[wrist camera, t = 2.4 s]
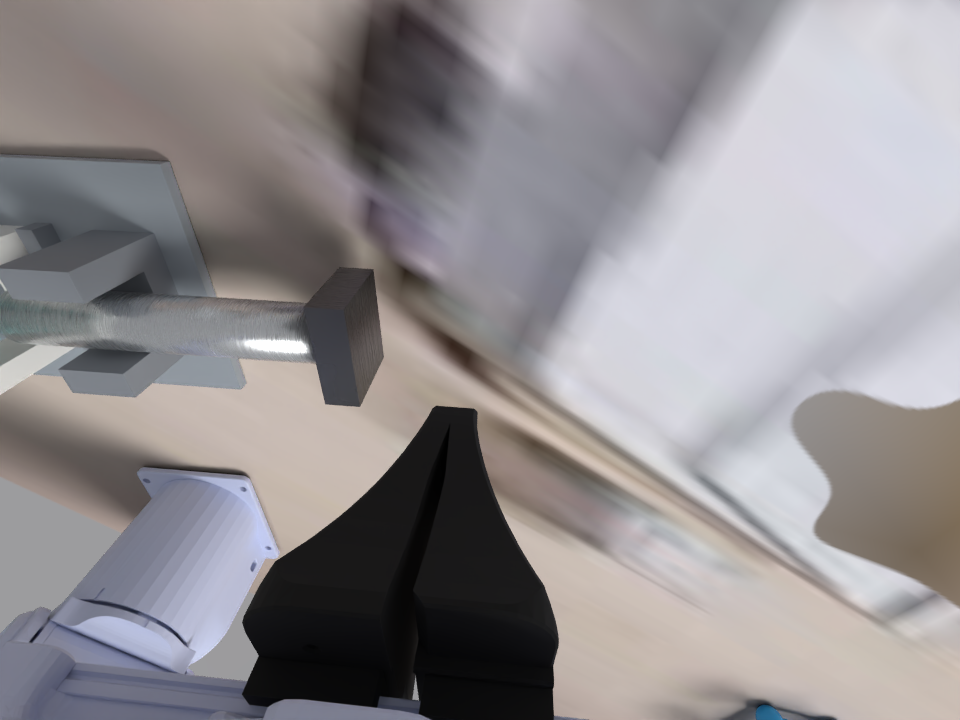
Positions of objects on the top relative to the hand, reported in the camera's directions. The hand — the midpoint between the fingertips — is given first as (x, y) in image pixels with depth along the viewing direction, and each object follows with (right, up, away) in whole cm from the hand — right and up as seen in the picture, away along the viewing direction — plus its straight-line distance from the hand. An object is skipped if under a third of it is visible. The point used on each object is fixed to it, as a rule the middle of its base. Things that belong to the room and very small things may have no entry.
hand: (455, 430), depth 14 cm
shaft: (-12, +5, +7) cm, 14 cm away
